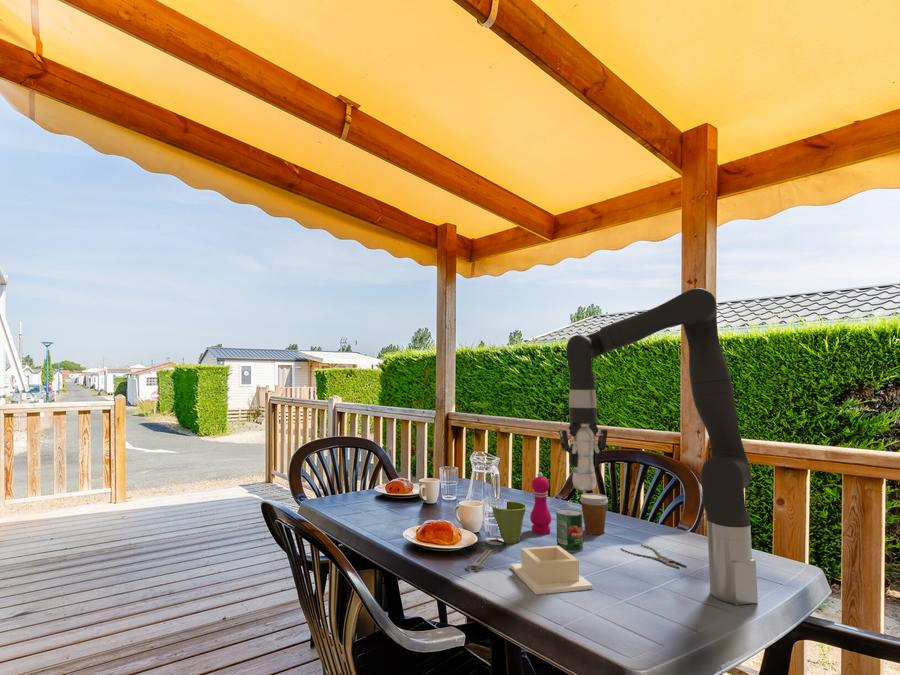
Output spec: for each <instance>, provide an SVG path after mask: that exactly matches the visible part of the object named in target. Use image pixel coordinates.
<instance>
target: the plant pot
mask: <svg viewBox="0 0 900 675" xmlns="http://www.w3.org/2000/svg"><path fill="white" fill-rule="evenodd" d="M505 501H506V502H507V509H499V508H496V507H493V506H492V503H490V507H491V508H492V513H493V517H494V516H495V518H494V520H495V519H496V521H497V524H498V527H499V530H500V533H501V534H500V535H501V537H502V538H503V540H504V542H505V543H504V544H511V545H512V544H513V545H514V544H516V543H519V542H520V541H521V535H522V528H523V522H524V516H525V514H526V509H527V508H528V505H527V504H526V503H523V502H518V501H513V500H512V501H511V500H505Z"/></svg>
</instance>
